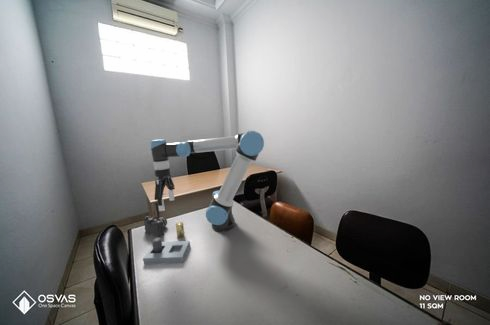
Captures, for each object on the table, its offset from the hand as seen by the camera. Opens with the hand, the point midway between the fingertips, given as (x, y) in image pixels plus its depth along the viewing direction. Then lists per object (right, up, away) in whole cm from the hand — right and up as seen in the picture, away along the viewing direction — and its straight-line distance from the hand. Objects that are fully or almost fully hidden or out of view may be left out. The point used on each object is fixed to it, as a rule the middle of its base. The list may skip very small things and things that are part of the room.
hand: (167, 205), depth 97 cm
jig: (+5, -22, -10) cm, 25 cm away
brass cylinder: (+6, -19, +4) cm, 21 cm away
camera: (-10, -19, +11) cm, 24 cm away
